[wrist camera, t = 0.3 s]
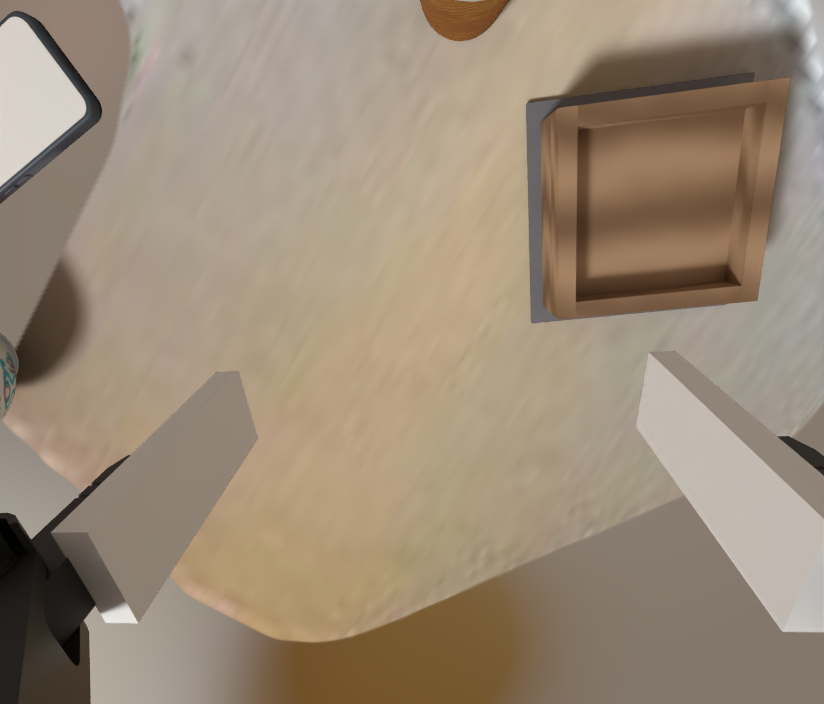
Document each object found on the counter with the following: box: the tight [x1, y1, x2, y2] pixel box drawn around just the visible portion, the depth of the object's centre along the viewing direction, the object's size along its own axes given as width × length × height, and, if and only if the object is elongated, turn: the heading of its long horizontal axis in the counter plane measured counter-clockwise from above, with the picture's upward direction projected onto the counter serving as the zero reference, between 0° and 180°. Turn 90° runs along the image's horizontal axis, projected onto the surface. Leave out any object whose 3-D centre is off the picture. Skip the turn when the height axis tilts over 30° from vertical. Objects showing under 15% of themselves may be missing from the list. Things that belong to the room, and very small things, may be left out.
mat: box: [526, 73, 754, 323], centre depth 35 cm, size 18×17×1 cm
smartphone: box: [0, 11, 102, 203], centre depth 35 cm, size 9×2×16 cm
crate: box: [540, 77, 791, 320], centre depth 33 cm, size 15×15×5 cm
